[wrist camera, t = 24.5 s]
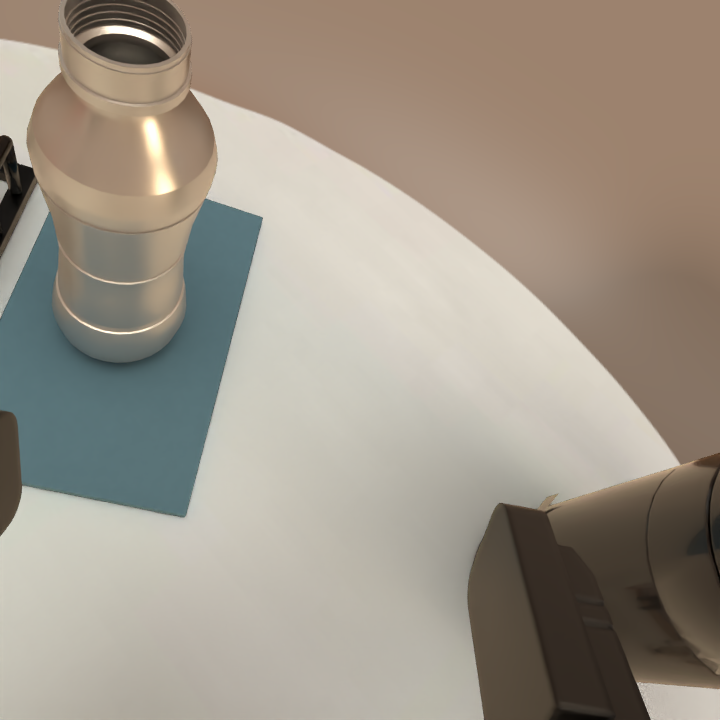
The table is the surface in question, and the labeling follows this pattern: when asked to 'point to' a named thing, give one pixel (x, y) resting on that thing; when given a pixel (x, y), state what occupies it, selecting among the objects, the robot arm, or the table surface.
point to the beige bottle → (121, 173)
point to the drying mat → (124, 378)
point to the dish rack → (13, 189)
